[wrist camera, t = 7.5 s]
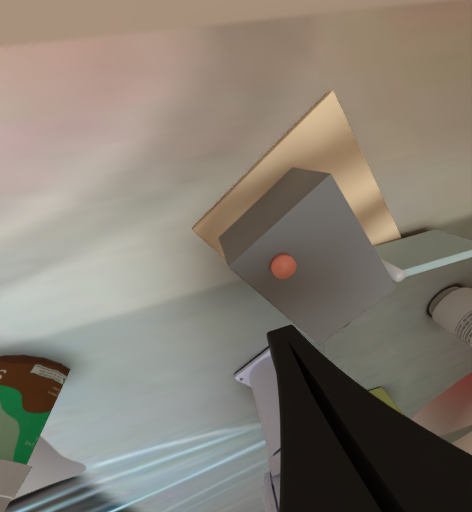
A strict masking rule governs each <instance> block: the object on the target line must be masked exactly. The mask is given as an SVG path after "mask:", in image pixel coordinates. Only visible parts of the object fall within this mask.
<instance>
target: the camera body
mask: <svg viewBox="0 0 472 512" xmlns="http://www.w3.org/2000/svg"><path fill="white" fill-rule="evenodd" d="M219 241H220V243H221V246H222V249H223V252H224V255H225V258H226V261H227V264H228V267H229V268H230V269H232V270H233V271H234V272H235V273H236V274H237V275H239V276H240V277H241V278H242V279H243V280H244V281H246V282H247V283H248V284H249V285H250V286H251V287H253V288H254V289H255V290H256V291H257V292H258V293H260V294H261V295H262V296H263V297H264V298H265V299H267V300H268V301H269V302H270V303H271V304H272V305H273V306H275V307H276V308H277V309H278V310H279V311H280V312H282V313H283V314H284V315H285V316H286V317H287V318H289V319H290V320H291V321H292V322H293V323H294V324H296V325H297V326H298V327H299V328H300V329H301V330H303V331H304V332H305V333H306V334H307V335H308V336H310V337H311V338H312V339H313V340H314V341H315V342H317V343H318V344H319V345H320V344H322V343H323V342H324V341H326V340H327V339H328V338H330V337H331V336H332V335H334V334H335V333H336V332H338V331H339V330H340V329H342V328H343V327H345V326H347V325H348V324H350V322H351V321H353V320H354V319H355V318H357V317H358V316H359V315H361V314H362V313H363V312H365V311H366V310H367V309H369V308H370V307H371V306H373V305H374V304H375V303H377V302H378V301H379V300H381V299H382V298H383V297H385V296H386V295H387V294H389V293H390V292H392V291H393V290H394V289H396V288H397V287H396V285H395V283H394V282H393V280H392V278H391V276H390V275H389V273H388V271H387V270H386V268H385V266H384V264H383V263H382V261H381V259H380V257H379V256H378V254H377V252H376V250H375V249H374V247H373V245H372V244H371V242H370V240H369V238H368V237H367V235H366V233H365V231H364V230H363V228H362V226H361V225H360V223H359V221H358V219H357V218H356V216H355V214H354V212H353V211H352V209H351V207H350V206H349V204H348V202H347V200H346V199H345V197H344V195H343V193H342V192H341V190H340V188H339V187H338V185H337V183H336V181H335V180H334V178H333V176H332V174H331V173H325V172H319V171H312V170H306V169H300V168H294V167H292V168H291V169H290V170H289V171H288V172H287V173H286V174H285V175H284V176H283V177H282V178H281V179H280V180H279V181H278V182H276V183H275V184H274V185H273V186H272V187H271V188H270V189H269V190H268V191H267V192H266V193H265V194H264V195H263V196H262V197H261V198H260V199H259V200H258V201H257V202H255V203H254V204H253V205H252V206H251V207H250V208H249V209H248V210H247V211H246V212H245V213H244V214H243V215H242V216H241V217H240V218H239V219H238V220H237V221H236V222H235V223H233V224H232V225H231V226H230V227H229V228H228V229H227V230H226V231H225V232H224V233H223V234H222V235H221V236H220V237H219Z"/></svg>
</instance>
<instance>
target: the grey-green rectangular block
mask: <svg viewBox="0 0 472 512" xmlns="http://www.w3.org/2000/svg"><path fill="white" fill-rule="evenodd" d="M374 249H375V250H376V252H377V254H378V256H379V257H380V259H381V261H382V263H383V264H384V266H385V268H386V270H387V271H388V273H389V275H390V276H391V278H392V279H393V280H395V281H397V282H399V281H402V280H403V279H404V278H405V277H407V276H410V275H413V274H417V273H420V272H423V271H426V270H430V269H433V268H436V267H440V266H443V265H446V264H450V263H453V262H456V261H460V260H463V259H466V258H470V257H472V241H471V240H468V239H465V238H461V237H458V236H455V235H452V234H449V233H446V232H443V231H439V230H436V229H435V230H431V231H428V232H424V233H420V234H417V235H413V236H410V237H406V238H403V239H399V240H396V241H392V242H389V243H385V244H381V245H378V246H374Z"/></svg>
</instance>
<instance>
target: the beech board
mask: <svg viewBox="0 0 472 512" xmlns="http://www.w3.org/2000/svg"><path fill="white" fill-rule="evenodd" d="M292 167H294V168H300V169H306V170H312V171H319V172H325V173H331V174H332V176H333V178H334V180H335V181H336V183H337V185H338V187H339V188H340V190H341V192H342V193H343V195H344V197H345V199H346V200H347V202H348V204H349V206H350V207H351V209H352V211H353V212H354V214H355V216H356V218H357V219H358V221H359V223H360V225H361V226H362V228H363V230H364V231H365V233H366V235H367V237H368V238H369V240H370V242H371V244H372V245H373V247H374V246H378V245H381V244H385V243H389V242H392V241H396V240H399V239H402V238H401V235H400V233H399V231H398V229H397V227H396V225H395V222H394V220H393V218H392V216H391V214H390V212H389V210H388V207H387V205H386V203H385V201H384V199H383V197H382V195H381V192H380V190H379V188H378V186H377V184H376V182H375V180H374V177H373V175H372V173H371V171H370V169H369V167H368V165H367V162H366V160H365V158H364V156H363V154H362V152H361V149H360V147H359V145H358V143H357V141H356V139H355V137H354V134H353V132H352V130H351V128H350V126H349V124H348V122H347V119H346V117H345V115H344V113H343V111H342V109H341V107H340V104H339V102H338V100H337V98H336V96H335V94H334V92H333V91H331V92H328V93H327V94H326V95H325V96H324V97H323V98H322V99H321V100H320V101H319V102H318V103H317V104H316V105H315V106H314V107H313V108H312V109H311V110H310V111H309V112H308V113H307V114H306V115H305V116H304V117H303V118H302V119H301V120H300V121H299V122H298V123H297V124H296V125H295V126H294V127H293V128H292V129H291V130H290V131H289V132H288V133H287V134H286V135H285V136H284V137H283V138H282V139H281V140H280V141H279V142H278V143H277V144H276V145H275V146H274V147H273V148H272V149H271V150H270V151H269V152H268V153H267V154H266V155H265V156H264V157H263V158H262V159H261V160H260V161H259V162H258V163H257V164H256V165H255V166H254V167H253V168H252V169H251V170H250V171H249V172H248V173H247V174H246V175H245V176H244V177H243V178H242V179H241V180H240V181H239V182H238V183H237V184H236V185H235V186H234V187H233V188H232V189H231V190H230V191H229V192H228V193H227V194H226V195H225V196H224V197H223V198H222V199H221V200H220V201H219V202H218V203H217V204H216V205H215V206H214V207H213V208H212V209H211V210H210V211H209V212H208V213H207V214H206V215H205V216H204V217H203V218H202V219H201V220H200V221H199V222H198V223H197V224H196V225H195V226H194V227H193V228H192V230H193V231H194V232H195V233H196V234H197V235H198V236H200V237H201V238H202V239H203V240H204V241H205V242H206V243H208V244H209V245H210V246H211V247H212V248H213V249H214V250H216V251H217V252H218V253H219V254H220V255H221V256H222V257H224V258H225V255H224V252H223V249H222V246H221V243H220V241H219V237H220V236H221V235H222V234H223V233H224V232H225V231H226V230H227V229H228V228H229V227H230V226H231V225H232V224H233V223H235V222H236V221H237V220H238V219H239V218H240V217H241V216H242V215H243V214H244V213H245V212H246V211H247V210H248V209H249V208H250V207H251V206H252V205H253V204H254V203H255V202H257V201H258V200H259V199H260V198H261V197H262V196H263V195H264V194H265V193H266V192H267V191H268V190H269V189H270V188H271V187H272V186H273V185H274V184H275V183H276V182H278V181H279V180H280V179H281V178H282V177H283V176H284V175H285V174H286V173H287V172H288V171H289V170H290V169H291V168H292ZM225 259H226V258H225Z"/></svg>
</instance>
